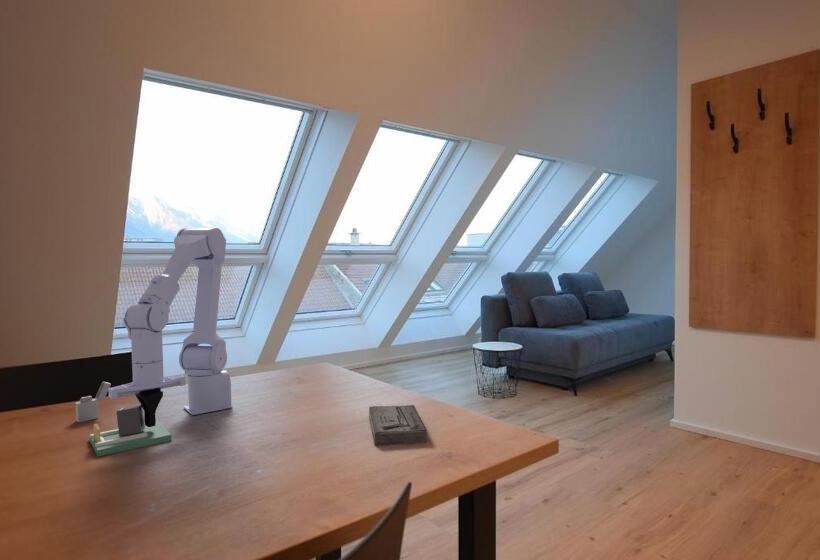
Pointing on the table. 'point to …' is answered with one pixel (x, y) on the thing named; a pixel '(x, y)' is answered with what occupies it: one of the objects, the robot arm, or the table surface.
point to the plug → (130, 420)
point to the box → (396, 425)
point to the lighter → (90, 404)
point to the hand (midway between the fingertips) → (149, 425)
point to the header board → (127, 439)
